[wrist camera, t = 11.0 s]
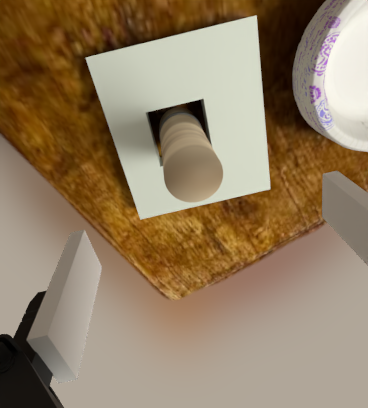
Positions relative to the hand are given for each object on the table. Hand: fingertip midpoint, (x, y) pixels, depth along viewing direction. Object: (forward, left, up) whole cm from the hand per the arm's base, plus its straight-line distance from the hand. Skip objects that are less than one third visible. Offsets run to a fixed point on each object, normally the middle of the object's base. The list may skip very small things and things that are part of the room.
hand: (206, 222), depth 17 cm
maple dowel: (0, 0, -20) cm, 21 cm away
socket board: (0, +1, -20) cm, 21 cm away
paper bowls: (-2, +19, -21) cm, 29 cm away
